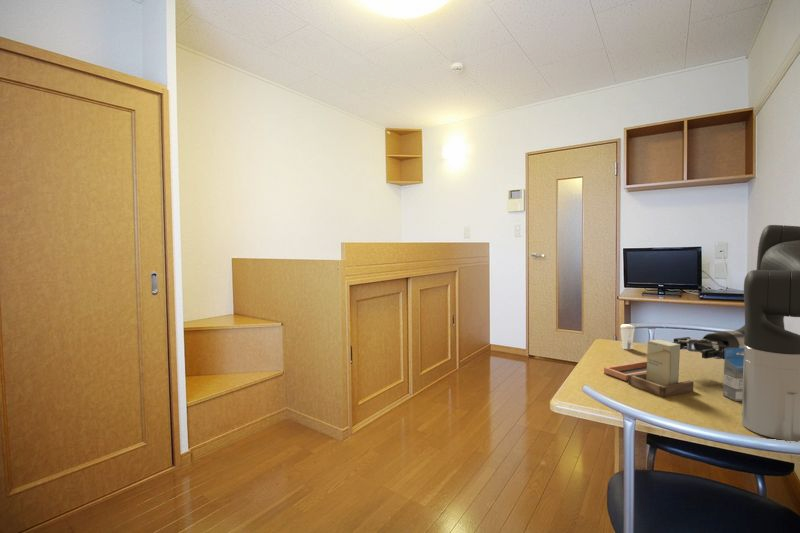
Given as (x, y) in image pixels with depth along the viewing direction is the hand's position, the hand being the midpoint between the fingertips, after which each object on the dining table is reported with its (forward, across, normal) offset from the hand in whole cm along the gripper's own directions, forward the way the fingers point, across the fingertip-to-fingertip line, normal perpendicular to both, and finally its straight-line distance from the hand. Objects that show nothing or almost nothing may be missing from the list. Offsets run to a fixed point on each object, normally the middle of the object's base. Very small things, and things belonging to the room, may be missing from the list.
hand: (686, 350), depth 105 cm
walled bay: (+10, 0, +9) cm, 13 cm away
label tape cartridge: (-2, +13, +9) cm, 16 cm away
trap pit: (+6, -10, +9) cm, 15 cm away
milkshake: (-15, -31, +9) cm, 36 cm away
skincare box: (+10, 0, +9) cm, 13 cm away
